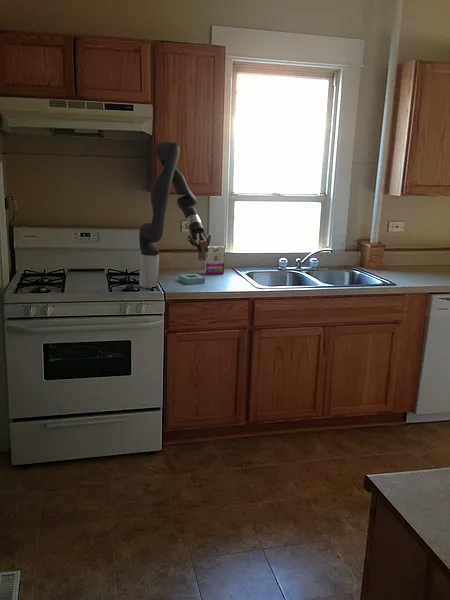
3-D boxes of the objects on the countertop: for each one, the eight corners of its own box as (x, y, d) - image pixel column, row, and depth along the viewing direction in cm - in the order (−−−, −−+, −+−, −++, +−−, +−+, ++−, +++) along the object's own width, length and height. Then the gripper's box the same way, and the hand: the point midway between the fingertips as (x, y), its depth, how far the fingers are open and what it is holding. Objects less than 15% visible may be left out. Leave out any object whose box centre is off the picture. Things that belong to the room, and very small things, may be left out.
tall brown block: (200, 260, 297) (201, 241, 294) (197, 259, 299) (198, 240, 296) (205, 260, 298) (206, 241, 295) (203, 259, 301) (204, 240, 298)
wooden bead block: (186, 284, 309) (187, 278, 308) (178, 280, 318) (178, 274, 317) (204, 283, 314) (205, 277, 313) (196, 279, 323) (196, 273, 323)
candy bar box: (221, 272, 345) (223, 246, 341) (224, 274, 341) (225, 247, 337) (204, 272, 342) (205, 245, 338) (205, 274, 338) (207, 247, 334)
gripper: (185, 221, 297) (194, 247, 289) (209, 220, 303) (218, 247, 296) (180, 229, 302) (189, 256, 295) (204, 229, 309) (213, 255, 302)
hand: (204, 251), depth 296 cm, fingers closed on tall brown block, 3 cm apart
